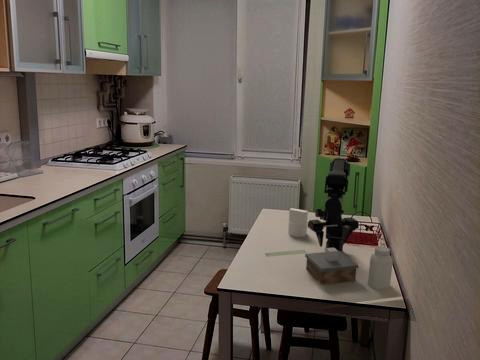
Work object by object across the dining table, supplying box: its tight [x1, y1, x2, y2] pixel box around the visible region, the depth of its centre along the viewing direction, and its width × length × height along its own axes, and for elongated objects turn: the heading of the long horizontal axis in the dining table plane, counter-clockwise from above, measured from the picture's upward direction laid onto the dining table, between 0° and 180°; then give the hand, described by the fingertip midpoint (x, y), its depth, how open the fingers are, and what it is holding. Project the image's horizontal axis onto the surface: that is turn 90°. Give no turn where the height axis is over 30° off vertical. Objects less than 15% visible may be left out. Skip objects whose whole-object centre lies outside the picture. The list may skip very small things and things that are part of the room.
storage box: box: [305, 258, 357, 285], centre depth 181 cm, size 14×14×6 cm
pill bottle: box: [367, 245, 394, 290], centre depth 172 cm, size 8×8×15 cm
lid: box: [304, 247, 359, 272], centre depth 179 cm, size 15×15×5 cm
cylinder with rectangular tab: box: [287, 207, 309, 238], centre depth 229 cm, size 9×9×12 cm
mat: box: [264, 249, 308, 258], centre depth 197 cm, size 18×18×1 cm
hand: (331, 245), depth 178 cm, fingers open, 9 cm apart
